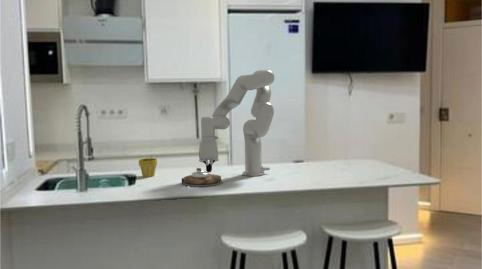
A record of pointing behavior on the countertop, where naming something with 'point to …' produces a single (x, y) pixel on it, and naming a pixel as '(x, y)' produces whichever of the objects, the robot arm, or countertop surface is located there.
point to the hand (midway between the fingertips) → (209, 172)
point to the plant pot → (148, 166)
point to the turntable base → (202, 185)
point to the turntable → (210, 180)
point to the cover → (200, 174)
